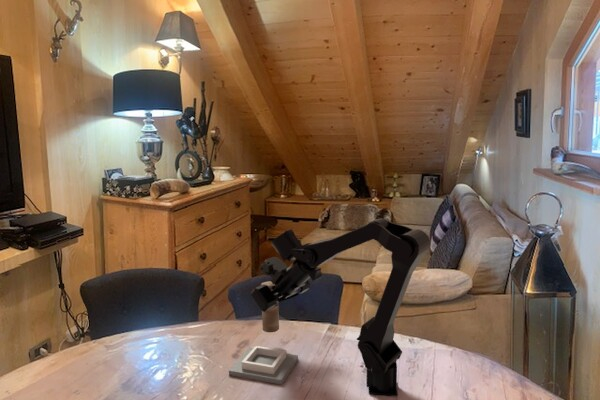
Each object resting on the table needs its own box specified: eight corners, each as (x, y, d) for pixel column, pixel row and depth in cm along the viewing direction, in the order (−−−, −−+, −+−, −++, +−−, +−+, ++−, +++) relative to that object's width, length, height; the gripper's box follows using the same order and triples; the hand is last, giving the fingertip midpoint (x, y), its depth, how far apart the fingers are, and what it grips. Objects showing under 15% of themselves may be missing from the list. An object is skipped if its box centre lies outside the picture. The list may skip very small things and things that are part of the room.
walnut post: (282, 327, 126) (281, 283, 123) (271, 334, 122) (270, 288, 120) (270, 323, 128) (268, 280, 126) (259, 329, 125) (257, 285, 123)
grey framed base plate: (297, 359, 118) (297, 348, 117) (281, 384, 107) (281, 373, 106) (249, 351, 122) (249, 341, 122) (229, 374, 111) (228, 363, 111)
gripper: (300, 242, 126) (272, 272, 135) (255, 258, 112) (226, 291, 120) (324, 274, 123) (293, 303, 131) (280, 295, 108) (248, 326, 117)
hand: (266, 305), depth 125 cm, fingers closed on walnut post, 5 cm apart
